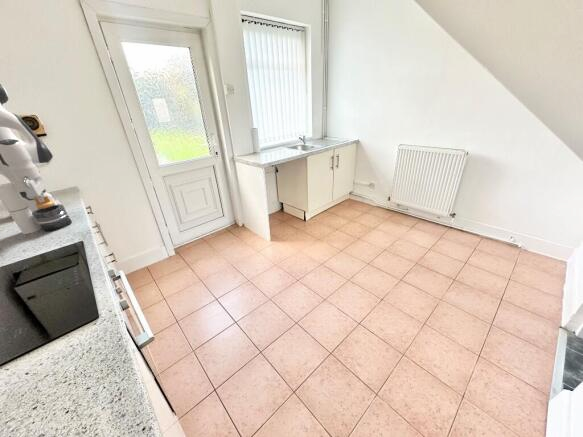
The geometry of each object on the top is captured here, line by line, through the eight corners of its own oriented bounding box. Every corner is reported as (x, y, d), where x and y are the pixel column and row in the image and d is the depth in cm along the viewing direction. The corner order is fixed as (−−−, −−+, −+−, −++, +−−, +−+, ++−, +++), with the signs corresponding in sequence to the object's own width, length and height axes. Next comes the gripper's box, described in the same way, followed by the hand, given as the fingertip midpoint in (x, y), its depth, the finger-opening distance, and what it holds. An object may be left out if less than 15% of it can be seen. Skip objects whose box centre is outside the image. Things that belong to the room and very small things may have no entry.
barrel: (44, 225, 129) (34, 209, 125) (72, 218, 136) (63, 202, 131) (40, 234, 121) (29, 216, 116) (71, 226, 127) (61, 209, 122)
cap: (55, 202, 127) (50, 193, 125) (53, 206, 122) (48, 197, 120) (38, 206, 123) (33, 197, 121) (36, 210, 119) (30, 201, 116)
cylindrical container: (29, 234, 121) (-1, 188, 110) (19, 233, 123) (-13, 188, 111) (45, 227, 127) (17, 183, 116) (35, 226, 129) (6, 182, 117)
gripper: (32, 177, 109) (48, 205, 115) (39, 169, 124) (53, 194, 130) (13, 181, 106) (30, 209, 112) (22, 172, 121) (38, 197, 127)
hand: (43, 201), depth 121 cm, fingers closed on cap
